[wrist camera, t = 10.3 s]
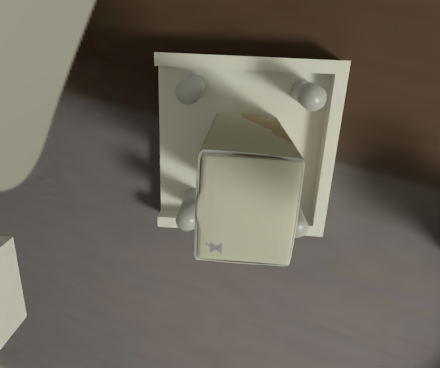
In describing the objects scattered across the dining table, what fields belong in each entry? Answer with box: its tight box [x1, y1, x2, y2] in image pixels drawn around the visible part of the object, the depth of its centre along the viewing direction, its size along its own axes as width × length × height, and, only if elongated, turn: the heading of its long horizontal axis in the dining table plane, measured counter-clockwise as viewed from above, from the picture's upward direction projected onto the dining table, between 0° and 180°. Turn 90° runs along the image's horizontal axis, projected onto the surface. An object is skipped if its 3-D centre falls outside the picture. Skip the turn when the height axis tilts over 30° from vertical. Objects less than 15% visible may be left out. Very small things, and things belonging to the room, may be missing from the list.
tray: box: [154, 52, 351, 238], centre depth 23 cm, size 12×12×5 cm
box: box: [194, 113, 305, 266], centre depth 20 cm, size 5×4×11 cm
